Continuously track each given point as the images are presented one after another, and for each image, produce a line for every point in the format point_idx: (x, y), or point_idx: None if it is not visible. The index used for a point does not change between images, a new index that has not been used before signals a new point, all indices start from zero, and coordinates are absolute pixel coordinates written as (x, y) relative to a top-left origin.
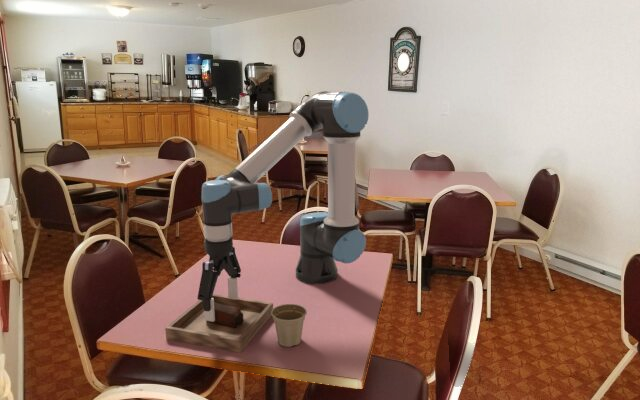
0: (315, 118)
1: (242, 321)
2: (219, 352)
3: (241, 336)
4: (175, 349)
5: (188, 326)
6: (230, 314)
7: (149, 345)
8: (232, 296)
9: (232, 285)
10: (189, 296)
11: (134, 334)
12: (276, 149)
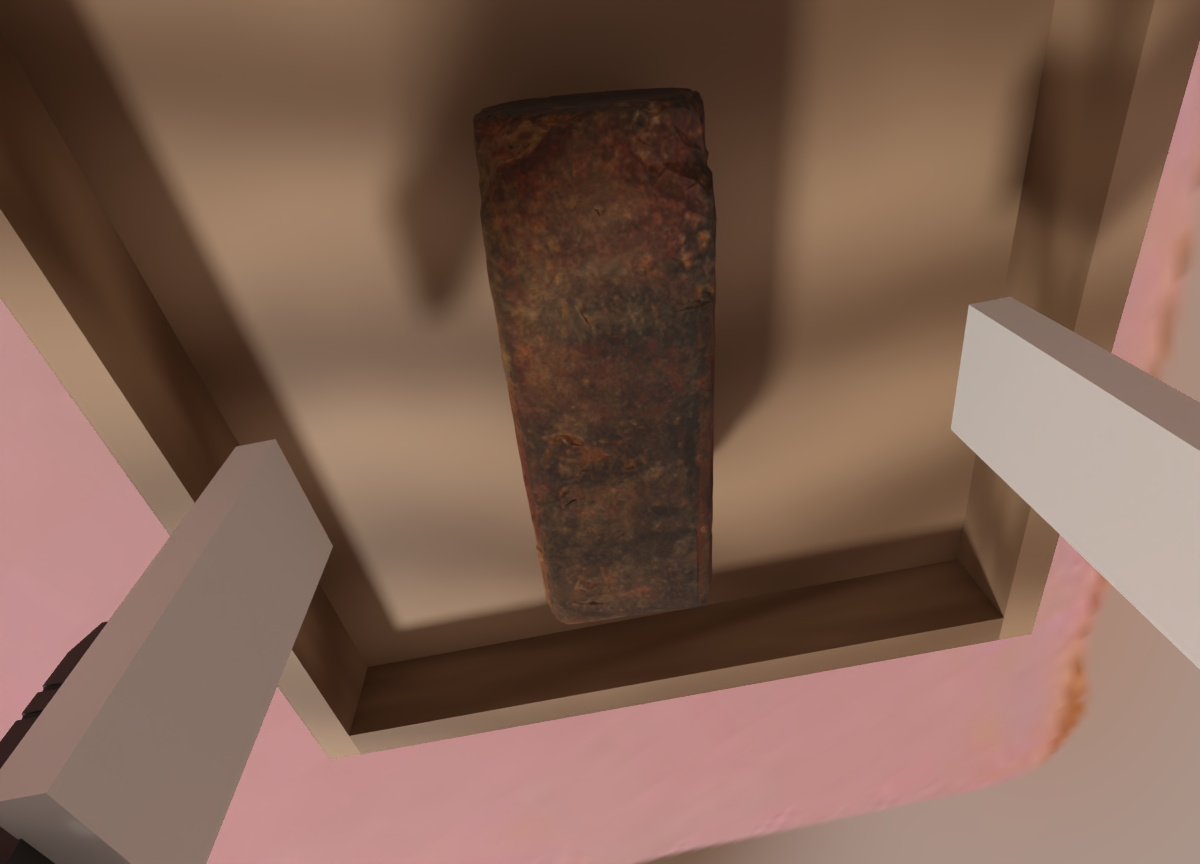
0: None
1: (511, 102)
2: None
3: None
4: None
5: (797, 545)
6: (716, 220)
7: (1070, 582)
8: (291, 524)
9: (202, 682)
10: (374, 801)
11: (952, 717)
12: None
